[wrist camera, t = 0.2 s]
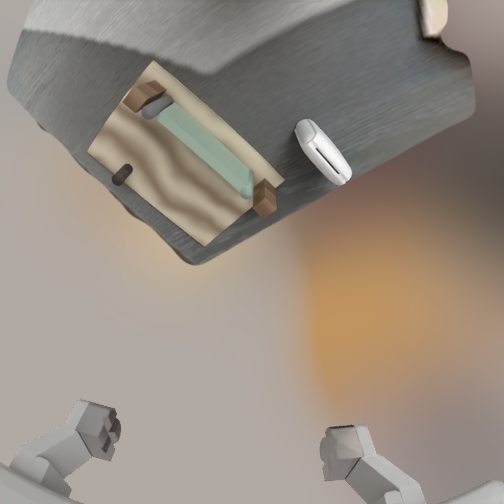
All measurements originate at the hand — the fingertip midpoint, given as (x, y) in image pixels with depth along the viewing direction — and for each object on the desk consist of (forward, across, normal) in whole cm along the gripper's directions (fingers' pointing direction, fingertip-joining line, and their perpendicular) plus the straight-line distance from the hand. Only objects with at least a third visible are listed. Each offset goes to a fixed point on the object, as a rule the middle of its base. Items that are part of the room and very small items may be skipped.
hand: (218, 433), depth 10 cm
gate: (+49, +8, -11) cm, 51 cm away
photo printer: (+50, -12, -13) cm, 53 cm away
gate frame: (+52, +14, -6) cm, 54 cm away
